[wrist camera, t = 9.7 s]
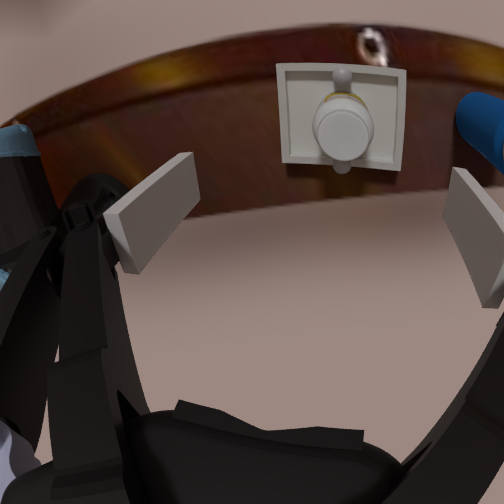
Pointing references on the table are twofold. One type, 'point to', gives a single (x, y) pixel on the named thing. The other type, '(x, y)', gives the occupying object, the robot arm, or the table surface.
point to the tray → (348, 79)
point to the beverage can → (483, 126)
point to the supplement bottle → (343, 125)
